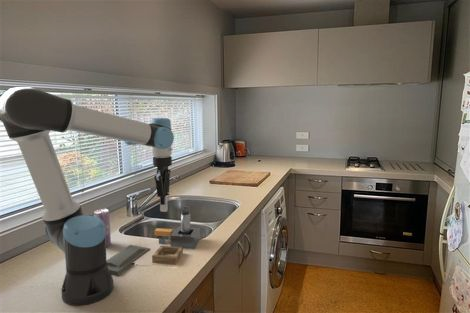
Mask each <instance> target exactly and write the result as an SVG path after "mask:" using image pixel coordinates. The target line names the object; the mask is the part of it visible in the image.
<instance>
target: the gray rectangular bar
mask: <svg viewBox="0 0 470 313" xmlns="http://www.w3.org/2000/svg"><path fill="white" fill-rule="evenodd" d="M180 227H181V234H186V235H191V233H190V227H191V212H190V206H189V205H181V212H180Z"/></svg>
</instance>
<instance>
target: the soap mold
mask: <svg viewBox="0 0 470 313" xmlns="http://www.w3.org/2000/svg"><path fill="white" fill-rule="evenodd" d="M150 250H151V249H150V247H146V246H145V247H143V246H141V245H140V246H138V245H133V244H129V245H128V246H126V247H125V248H123V249H122V250H120V251H119V252H117V253H116V254H114V255H113V256H111V257H110V258H108V259H106V261H107V267H108V269H109V271H110V274H111V276H118V277H120V276H121V275H123V274H124V273H125V272H126V271H127V270H129V269H130V268H131V267H133V266H134V265H136V260H138V259H139V258H141V257H142V256H144V255H145V254H146V253H147V252H149V251H150Z"/></svg>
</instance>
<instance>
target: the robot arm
mask: <svg viewBox="0 0 470 313" xmlns="http://www.w3.org/2000/svg"><path fill="white" fill-rule="evenodd" d="M0 122H1V123H2V124H3V126H4V129H5V131H6V134H7V136H8V139H10V140H12V141H14V142H16V143H17V145H18V148H19V149H20V152H21V155H22V157H23V159H24V161H25V164H26V167H27V170H28V171H29V174H30V176H31V179H32V181H33V184H34V186H35V188H36V191H37V194H38V197H39V198H40V201H41V204H42V206H43V209H44V213H43V214H42V217H41V219H42V220H43V223H44V232H45V235H46V237H47V238H48V240H49V241H50V242H51V243H52V244H54V245H55V246H57V248H59V250H61V251H62V252H63V253H64V257H65V271H66V272H65V276H64V279H63V283H62V285H61V290H60V291H61V292H60V293H61V299H62V301H63V302H64V303H66V304H69V305H73V306H83V305H90V304H93V303H96V302H99V301H101V300H103V299H105V298H106V297H108V296H109V295H110V294H111V293H112V292H113V290H114V287H115V286H114V278H113V275H112V274H110V271H109V269H108V267H107V247H106V236H105V235H106V230H105V226H104V222H103V221H102V220H101V219H100V218H98V217H95V216H94V215H87V214H86V215H84V212H83V210H82V207H81V204H80V202H77V201H74V199H73V196H72V194H71V191H70V188H69V186H68V183H67V179H66V178H65V174H64V171H63V169H62V166H61V164H60V161H59V159H58V156H57V153H56V150H55V148H54V147H55V146H54V145H53V142H52V140H51V137H50V132H58V133H66V132H67V131H71V132H77V133H81V134H86V135H91V136H97V137H101V138H107V139H111V140H115V141H122V142H124V143H125V145H128V146H136V145H141V146H146V147H151V148H152V156H153V157H152V165H153V166H154V167H156V175H154V177H153V178H154V181H155V188H156V194H157V196H156V197H157V198H159V211H160V212H164V213H167V212H168V211H169V210H168V209H169V208H168V206H169V205H168V196H170V177H171V169H169V167H171V166H172V165H173V158H172V151H173V148H172V146H173V144H174V139H175V136H174V133H173V131H172V124H171V119H169V118H166V117H159V118H158V117H155V118H151V122H150V123H146V122H142V121H138V120H134V119H131V118H127V117H123V116H119V115H116V114H111V113H108V112H105V111H104V112H103V111H100V110H96V109H91V108H88V107H86V106H85V107H84V106H82V105H81V106H80V105H77V104H74V102H73V101H72V100H71V99H68V98H64V97H61V96H58V95H54V94H51V93H49V92H47V91H44V90H42V89H39V88H36V87H30V86H29V87H28V86H26V87H24V86H23V87H20V86H17V87H11V88H7V89H6V90H4V91H2V92H1V93H0Z"/></svg>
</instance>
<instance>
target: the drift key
mask: <svg viewBox="0 0 470 313" xmlns="http://www.w3.org/2000/svg"><path fill="white" fill-rule="evenodd" d="M173 232H174V229H173V228H172V229H171V228H161V227H160V228H158V227H157V228H155V229H154V236H157V237H158V236H159V237H161V236H162V237H163V236H169V237H170V235H171V234H172V233H173Z"/></svg>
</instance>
